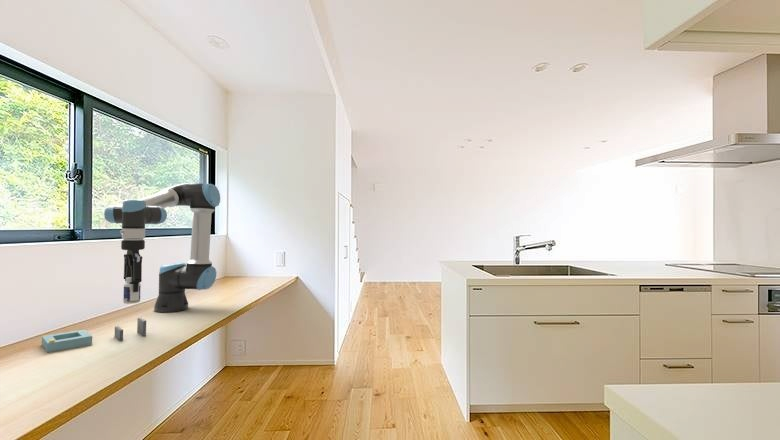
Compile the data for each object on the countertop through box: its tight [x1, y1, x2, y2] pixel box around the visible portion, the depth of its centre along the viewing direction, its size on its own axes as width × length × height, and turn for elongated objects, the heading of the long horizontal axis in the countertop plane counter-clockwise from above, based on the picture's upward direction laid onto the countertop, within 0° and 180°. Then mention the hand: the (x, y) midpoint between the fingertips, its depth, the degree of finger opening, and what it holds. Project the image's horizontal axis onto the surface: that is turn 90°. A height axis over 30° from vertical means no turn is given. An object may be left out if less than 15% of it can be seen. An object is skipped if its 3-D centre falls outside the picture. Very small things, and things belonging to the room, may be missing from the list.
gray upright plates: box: [114, 317, 147, 342], centre depth 145 cm, size 8×7×6 cm
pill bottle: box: [122, 277, 142, 305], centre depth 145 cm, size 5×5×10 cm
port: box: [41, 329, 93, 353], centre depth 134 cm, size 12×12×4 cm
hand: (132, 299), depth 145 cm, fingers closed on pill bottle, 5 cm apart
